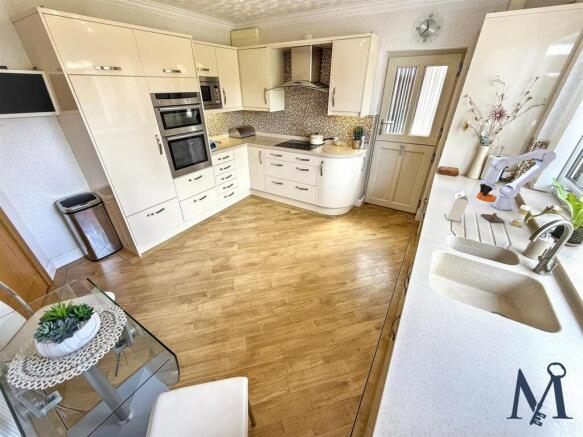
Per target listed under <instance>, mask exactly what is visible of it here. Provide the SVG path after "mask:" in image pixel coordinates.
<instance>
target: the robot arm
mask: <svg viewBox="0 0 583 437" xmlns="http://www.w3.org/2000/svg"><path fill="white" fill-rule="evenodd" d="M532 159H534V161H535V164H534V165H533V166H532V167H531V168H529V169H528V170H527V171H526V172H524V173H523V174H521V176H519V177H518V178H516V179H515V180H514V181H513V182H509V183H507V184H505V185H502V186H501V187H500V188H499V190H498V191H499V194H498V197H497V199H496V201H495V202H494V203H490V206H492V207H494V208H495V209H497V210H503V211H512V207H513V206H514V204H515V202H516V199H515V198H516V197H517V196H518V194H519V193H520V192H521V188H522V187H523V186H525V185H526V184H528V183H529V182H530V181H531V180H533V179H534V178H535V177H537V176H538V175H539V174H540V173H542V172H543V171H544V170H546V169H547V168H548V167H549V166H550V165H551V163H552V162H554V161H555V160H556V159H557V153H556V152H555V151H551V150H549V149H545V148H537V149H534V150H532V151H529V152H527V153H524V154H521V155H518V156H516V155H509V156H508V157H503V158H500V159H497V158H496V159H494V160H493V161H492V162H490V167H489V170H488V172H487V174H486V176H485V178H484V179H479V183H480V184H479V187H480V188H479V193H481V192H483V196H486V195H487V194H488V193H489V194H490V193H491V192H492V191H496V190H497V188H498V186H497V185H495V183H496V181H497V179H498V176H499V175H500V173H501V171H502V170H504V169H505V168H507V167H510V166H515V165H516V164H518V163H519V162H522V161H527V160H532Z"/></svg>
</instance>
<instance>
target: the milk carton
mask: <svg viewBox="0 0 583 437" xmlns="http://www.w3.org/2000/svg"><path fill="white" fill-rule="evenodd" d="M469 203H470V199H469V197H468V196H467V195H466V192H465V190H464V189H463V190H462V191H461V192H458V193H455V194H454V195H453V197H452V200H451V202H450V204H449V206H448V208H447V211H446V213H445V217H446V220H450V221H453V222H458V223H460V222H461V219H462V217H463V215H464V213H465V211H466V209H467V207H468V205H469Z"/></svg>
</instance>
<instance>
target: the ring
mask: <svg viewBox="0 0 583 437" xmlns="http://www.w3.org/2000/svg"><path fill="white" fill-rule="evenodd" d="M475 197H476V199H478V200H480V201H482V202H485V203H495V202H496V200H497V198H498V197H497V195H494V194H492V193H490V192H489V193H488V194H487V195H486V196H483V192H481V193H480V192H477V194H476V196H475Z"/></svg>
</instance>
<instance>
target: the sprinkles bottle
mask: <svg viewBox="0 0 583 437" xmlns="http://www.w3.org/2000/svg"><path fill="white" fill-rule="evenodd" d="M531 210H532V207H531V206H529V205H527V204H522V205H521V206H520V207H519V210H518V211H517V212H516V214H515V216H514V218H513V219H512V221H511V223H510V224H511V225H512V226H515V227H520V226H521V224H522V223H523V222H524V220H525V218H526V217H527V215H528V213H529V212H530V211H531Z"/></svg>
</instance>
